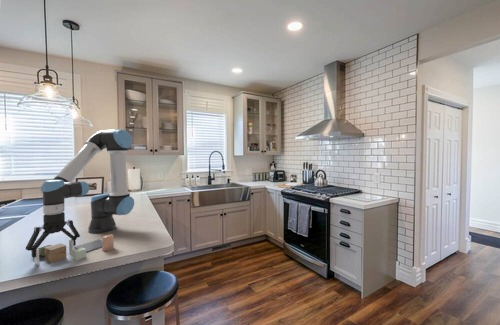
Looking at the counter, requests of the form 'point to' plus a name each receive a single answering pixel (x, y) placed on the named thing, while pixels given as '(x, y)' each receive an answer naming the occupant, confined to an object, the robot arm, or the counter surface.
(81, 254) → the sage block
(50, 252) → the walnut cube
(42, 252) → the seashell
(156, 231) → the counter surface
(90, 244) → the coaster
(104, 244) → the pink glossy pebble
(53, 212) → the robot arm
